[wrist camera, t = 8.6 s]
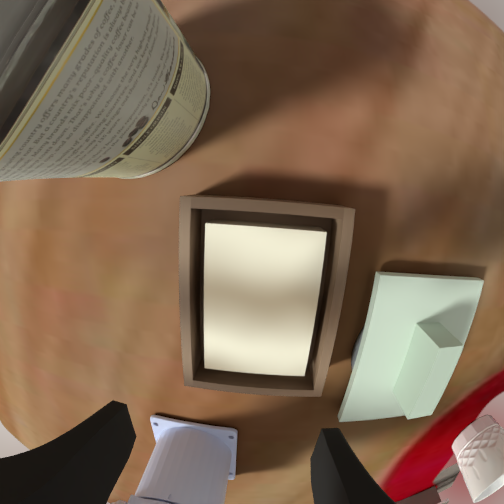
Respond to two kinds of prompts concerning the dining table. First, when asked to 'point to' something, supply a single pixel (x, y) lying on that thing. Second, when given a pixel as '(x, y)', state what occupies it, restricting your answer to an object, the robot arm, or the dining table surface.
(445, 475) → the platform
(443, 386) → the lid
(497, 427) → the white cup
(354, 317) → the dining table surface
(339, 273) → the box
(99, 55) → the coffee can
